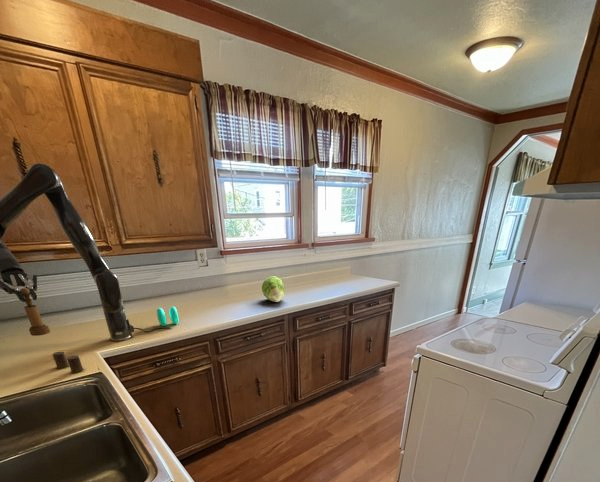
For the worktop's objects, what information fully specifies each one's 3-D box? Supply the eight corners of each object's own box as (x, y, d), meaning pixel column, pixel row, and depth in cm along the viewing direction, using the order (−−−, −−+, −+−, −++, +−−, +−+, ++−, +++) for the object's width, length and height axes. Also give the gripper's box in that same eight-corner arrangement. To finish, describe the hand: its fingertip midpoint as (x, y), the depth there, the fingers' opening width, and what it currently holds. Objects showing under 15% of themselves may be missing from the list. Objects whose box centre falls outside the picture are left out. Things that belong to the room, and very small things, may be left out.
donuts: (180, 325, 185) (177, 308, 181) (161, 328, 181) (158, 310, 176) (176, 321, 193) (173, 304, 188) (158, 324, 188) (155, 306, 184)
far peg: (81, 368, 133) (77, 354, 130) (84, 371, 130) (79, 357, 127) (70, 371, 130) (65, 357, 127) (73, 374, 128) (68, 359, 125)
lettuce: (276, 313, 234) (260, 297, 225) (270, 300, 252) (256, 285, 243) (293, 297, 230) (278, 280, 221) (286, 285, 248) (272, 269, 239)
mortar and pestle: (26, 334, 132) (8, 289, 123) (43, 330, 137) (26, 286, 129) (37, 336, 129) (20, 290, 121) (54, 331, 135) (38, 287, 127)
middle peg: (67, 364, 136) (62, 350, 134) (70, 366, 134) (65, 353, 131) (56, 366, 134) (51, 353, 131) (58, 369, 131) (53, 355, 129)
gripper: (-18, 258, 119) (6, 296, 118) (27, 255, 129) (51, 290, 128) (-16, 272, 124) (7, 309, 123) (27, 268, 134) (50, 302, 133)
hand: (29, 299), depth 126 cm, fingers closed on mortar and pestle, 3 cm apart
